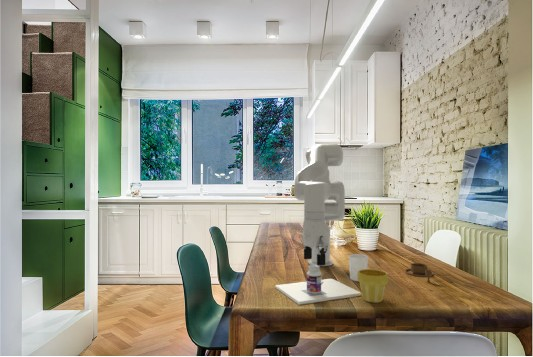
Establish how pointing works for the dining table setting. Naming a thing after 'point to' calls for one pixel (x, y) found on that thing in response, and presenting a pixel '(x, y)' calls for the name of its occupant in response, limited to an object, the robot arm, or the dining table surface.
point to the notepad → (328, 292)
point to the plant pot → (372, 284)
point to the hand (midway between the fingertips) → (314, 261)
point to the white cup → (357, 265)
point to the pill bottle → (314, 279)
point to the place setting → (420, 271)
